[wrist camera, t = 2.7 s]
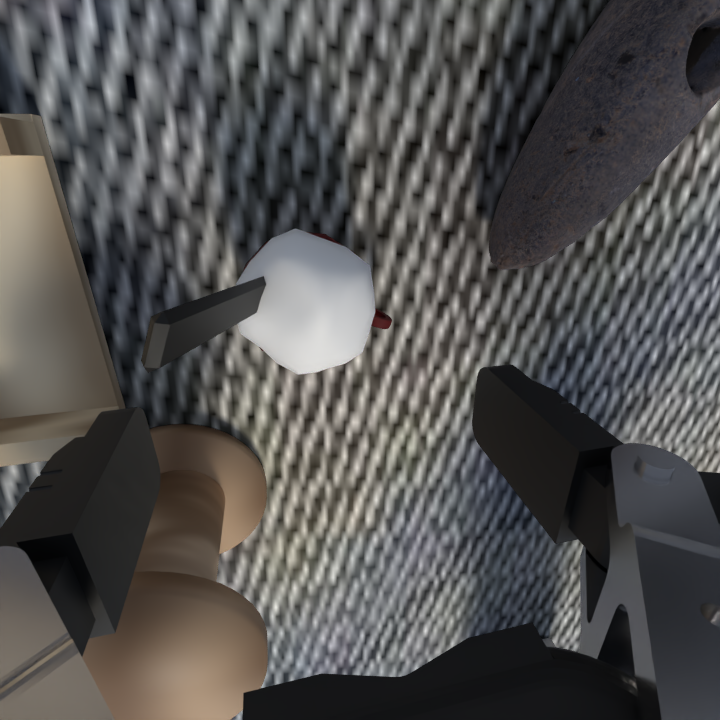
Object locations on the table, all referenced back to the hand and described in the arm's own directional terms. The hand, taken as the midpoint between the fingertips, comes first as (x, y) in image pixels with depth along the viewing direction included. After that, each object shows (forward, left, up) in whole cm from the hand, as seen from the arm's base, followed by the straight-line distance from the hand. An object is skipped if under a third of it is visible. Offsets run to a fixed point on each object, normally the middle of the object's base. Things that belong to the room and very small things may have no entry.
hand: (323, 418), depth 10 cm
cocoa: (0, 0, -14) cm, 14 cm away
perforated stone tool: (-14, -7, -14) cm, 21 cm away
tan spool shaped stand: (+8, +13, -14) cm, 20 cm away
